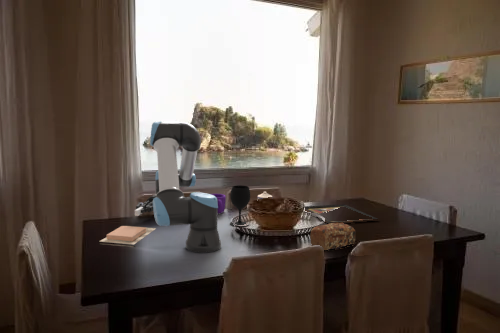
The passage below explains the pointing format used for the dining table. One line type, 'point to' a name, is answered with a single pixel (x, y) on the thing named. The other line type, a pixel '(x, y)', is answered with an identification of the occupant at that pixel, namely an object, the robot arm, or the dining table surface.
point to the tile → (126, 233)
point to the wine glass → (240, 199)
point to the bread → (332, 235)
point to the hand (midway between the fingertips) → (136, 213)
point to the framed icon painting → (330, 208)
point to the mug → (220, 202)
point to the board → (148, 230)
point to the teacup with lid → (264, 195)
